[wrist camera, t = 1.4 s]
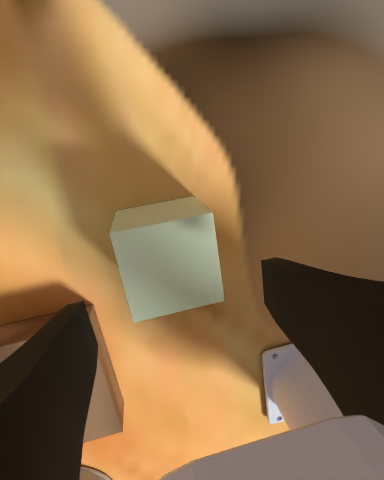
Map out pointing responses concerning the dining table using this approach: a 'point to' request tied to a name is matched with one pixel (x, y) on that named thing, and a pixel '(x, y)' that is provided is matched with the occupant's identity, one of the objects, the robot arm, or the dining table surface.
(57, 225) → the dining table surface
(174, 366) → the dining table surface
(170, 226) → the sage cube
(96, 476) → the grey cylinder
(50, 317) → the walnut slab
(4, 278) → the dining table surface
